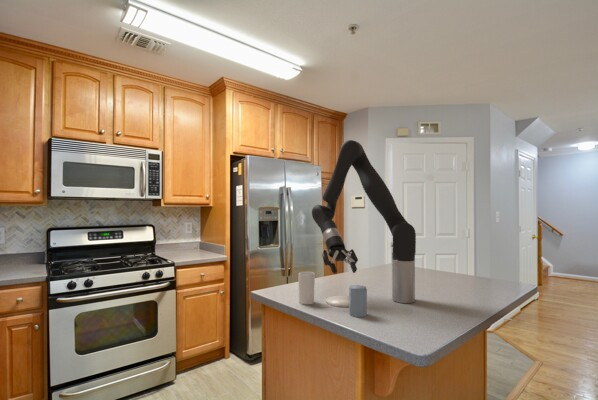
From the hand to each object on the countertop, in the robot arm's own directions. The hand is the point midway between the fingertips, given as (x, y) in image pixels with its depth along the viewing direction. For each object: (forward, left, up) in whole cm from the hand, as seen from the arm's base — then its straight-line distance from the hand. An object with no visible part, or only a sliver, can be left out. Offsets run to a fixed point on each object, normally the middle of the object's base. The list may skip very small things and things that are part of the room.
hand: (345, 272), depth 129 cm
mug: (+5, -16, -14) cm, 22 cm away
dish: (-4, -4, -14) cm, 15 cm away
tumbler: (+5, +9, -14) cm, 17 cm away
